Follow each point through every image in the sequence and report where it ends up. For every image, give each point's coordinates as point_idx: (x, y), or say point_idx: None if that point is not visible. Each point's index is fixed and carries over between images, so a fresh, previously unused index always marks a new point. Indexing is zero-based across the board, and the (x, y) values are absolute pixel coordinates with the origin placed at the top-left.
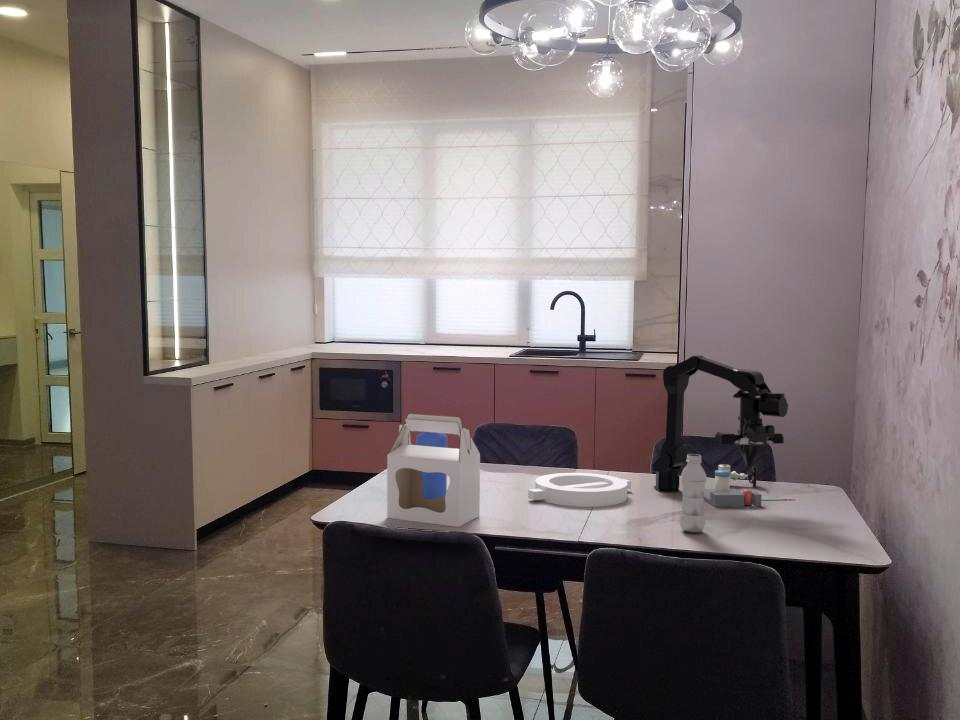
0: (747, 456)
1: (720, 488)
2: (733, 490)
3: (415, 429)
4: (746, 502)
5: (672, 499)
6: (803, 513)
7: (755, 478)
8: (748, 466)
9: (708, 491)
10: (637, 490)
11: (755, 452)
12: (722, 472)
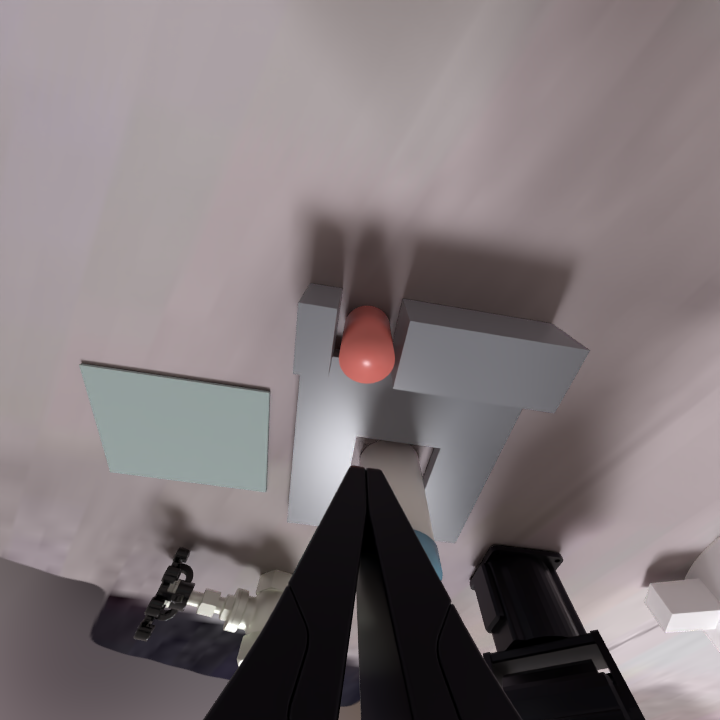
0: (430, 599)
1: (417, 481)
2: (308, 505)
3: None
4: (382, 314)
5: (610, 470)
6: (120, 38)
7: (171, 572)
8: (378, 470)
9: None
10: (609, 577)
11: (261, 685)
12: None
